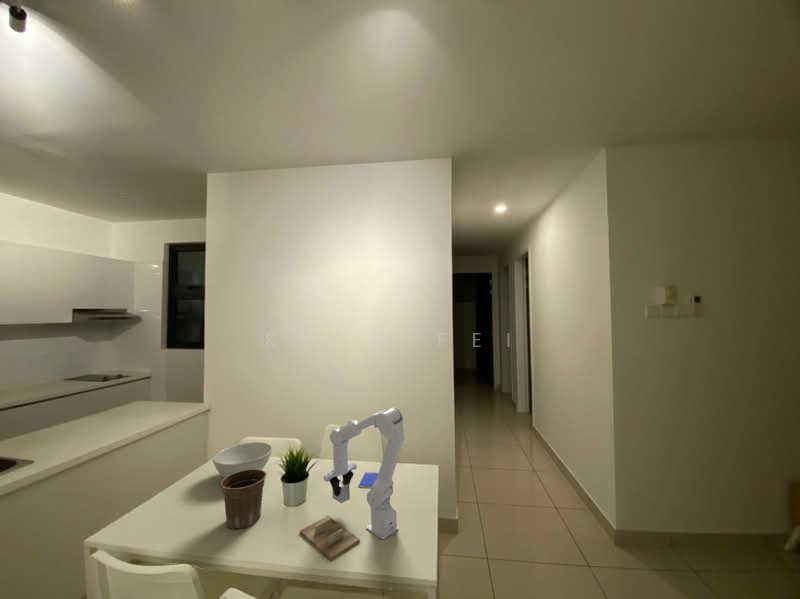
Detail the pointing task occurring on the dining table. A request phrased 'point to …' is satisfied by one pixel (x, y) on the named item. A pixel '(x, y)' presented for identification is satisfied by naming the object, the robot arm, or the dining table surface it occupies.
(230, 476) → the plant pot
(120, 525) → the dining table surface
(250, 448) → the decorative bowl
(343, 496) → the block
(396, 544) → the dining table surface
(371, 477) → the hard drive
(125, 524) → the dining table surface
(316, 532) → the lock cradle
